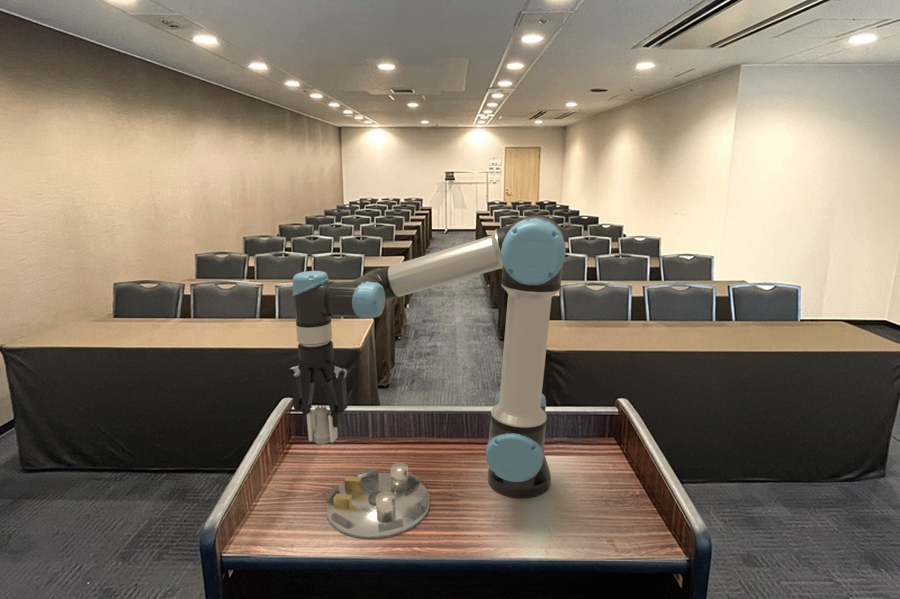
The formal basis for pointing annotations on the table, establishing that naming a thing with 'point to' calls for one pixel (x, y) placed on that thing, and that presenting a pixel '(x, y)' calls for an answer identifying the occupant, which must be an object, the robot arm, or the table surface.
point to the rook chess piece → (321, 425)
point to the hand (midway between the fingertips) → (323, 438)
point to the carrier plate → (369, 512)
